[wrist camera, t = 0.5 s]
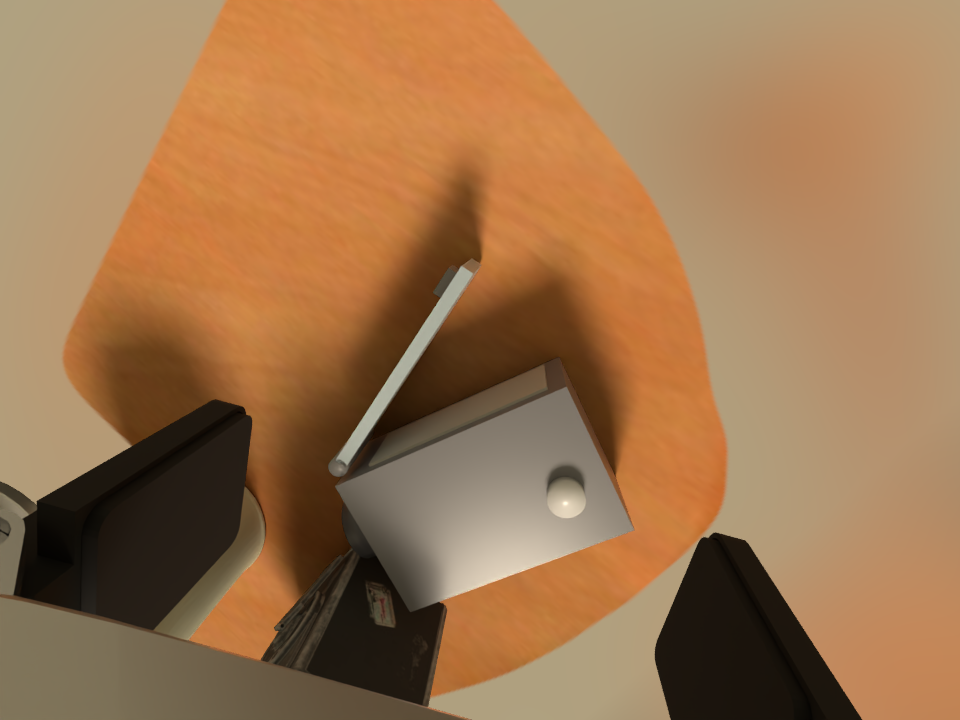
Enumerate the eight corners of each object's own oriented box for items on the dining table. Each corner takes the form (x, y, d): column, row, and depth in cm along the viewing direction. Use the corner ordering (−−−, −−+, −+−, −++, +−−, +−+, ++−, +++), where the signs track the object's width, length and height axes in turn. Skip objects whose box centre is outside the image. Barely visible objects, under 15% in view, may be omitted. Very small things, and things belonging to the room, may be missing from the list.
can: (121, 524, 38) (-53, 655, 27) (183, 437, 36) (22, 540, 24) (223, 598, 39) (98, 755, 28) (290, 518, 37) (184, 653, 25)
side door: (368, 441, 35) (341, 480, 29) (349, 429, 34) (318, 466, 29) (484, 266, 31) (476, 276, 26) (463, 252, 31) (451, 258, 26)
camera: (270, 607, 39) (122, 833, 25) (355, 518, 37) (244, 713, 22) (377, 688, 40) (294, 949, 26) (466, 607, 38) (429, 848, 23)
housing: (408, 558, 37) (383, 630, 30) (345, 449, 35) (303, 502, 29) (615, 477, 34) (637, 538, 28) (558, 354, 32) (566, 389, 26)
